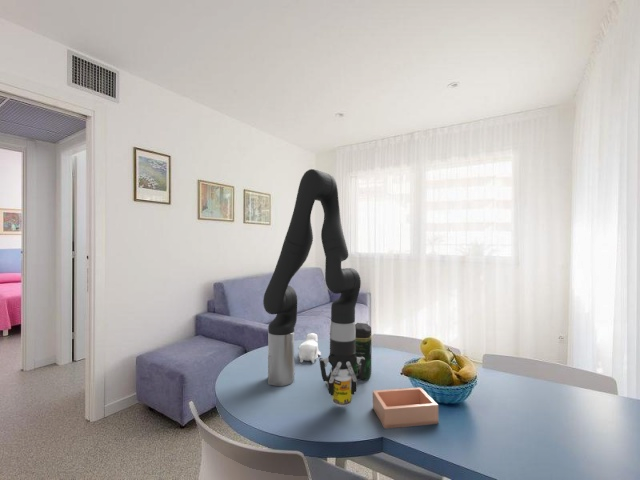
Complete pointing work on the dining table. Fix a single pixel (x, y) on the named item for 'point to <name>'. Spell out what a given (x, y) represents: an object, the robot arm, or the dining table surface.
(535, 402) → the dining table surface
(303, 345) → the white animal figurine
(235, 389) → the dining table surface
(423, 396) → the open box
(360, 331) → the coffee jar
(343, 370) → the supplement bottle
